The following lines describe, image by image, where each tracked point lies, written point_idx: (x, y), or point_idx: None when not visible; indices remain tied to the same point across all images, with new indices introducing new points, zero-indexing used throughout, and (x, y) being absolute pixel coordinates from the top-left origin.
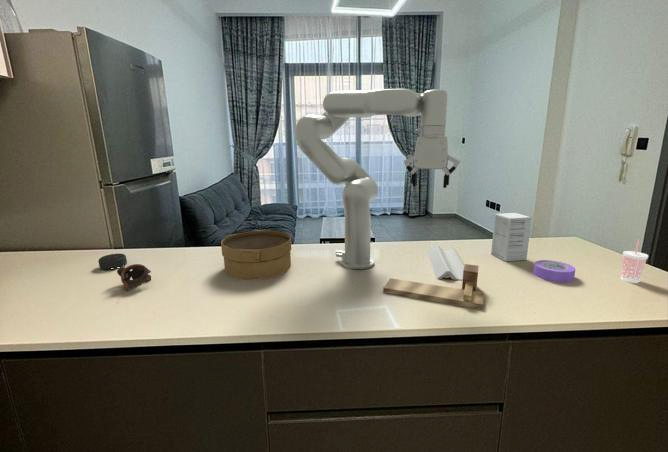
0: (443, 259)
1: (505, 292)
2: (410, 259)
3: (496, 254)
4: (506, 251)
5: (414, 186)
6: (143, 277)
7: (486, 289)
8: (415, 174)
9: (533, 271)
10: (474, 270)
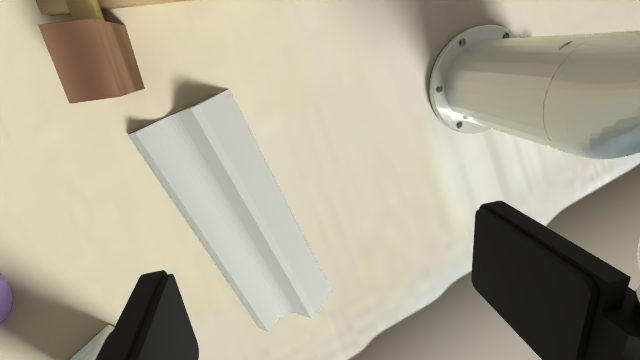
0: (246, 200)
1: (11, 93)
2: (349, 198)
3: None
4: (97, 349)
5: (479, 211)
6: None
7: None
8: (591, 328)
9: (3, 285)
10: (59, 41)
